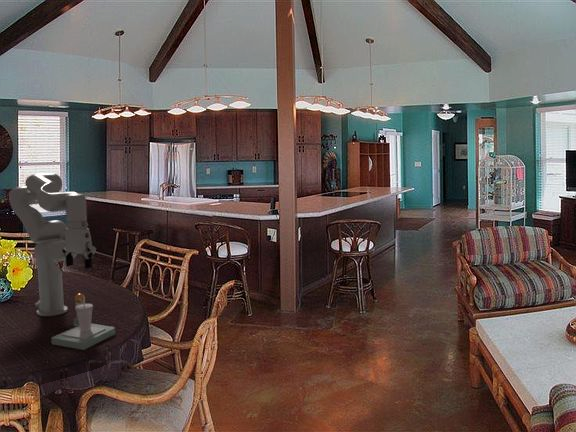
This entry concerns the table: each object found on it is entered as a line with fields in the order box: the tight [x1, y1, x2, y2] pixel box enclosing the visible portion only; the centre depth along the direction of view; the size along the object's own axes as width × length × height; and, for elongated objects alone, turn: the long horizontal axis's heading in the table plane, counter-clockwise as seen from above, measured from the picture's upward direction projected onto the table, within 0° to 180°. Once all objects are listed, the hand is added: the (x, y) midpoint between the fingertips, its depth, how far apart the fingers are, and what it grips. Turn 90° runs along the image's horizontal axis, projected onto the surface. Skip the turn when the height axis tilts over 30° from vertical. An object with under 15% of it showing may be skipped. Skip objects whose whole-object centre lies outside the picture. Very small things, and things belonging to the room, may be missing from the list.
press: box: [51, 323, 116, 351], centre depth 206 cm, size 22×21×3 cm
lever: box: [73, 293, 84, 325], centre depth 216 cm, size 4×4×12 cm
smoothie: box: [75, 294, 94, 332], centre depth 202 cm, size 6×6×14 cm
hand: (79, 266), depth 215 cm, fingers open, 9 cm apart
